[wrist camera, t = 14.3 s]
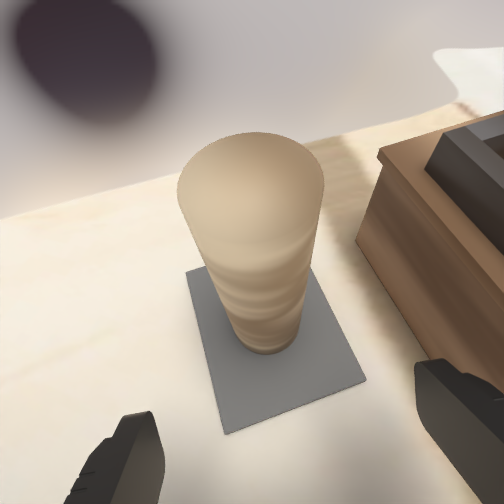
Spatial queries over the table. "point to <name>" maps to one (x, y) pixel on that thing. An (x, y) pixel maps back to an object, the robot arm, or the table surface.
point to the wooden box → (445, 241)
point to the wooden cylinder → (255, 230)
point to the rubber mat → (272, 358)
